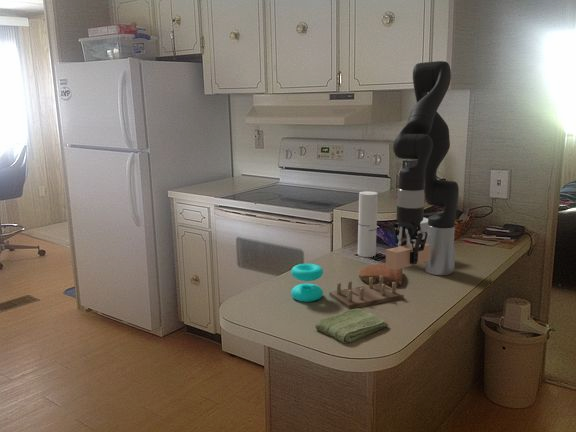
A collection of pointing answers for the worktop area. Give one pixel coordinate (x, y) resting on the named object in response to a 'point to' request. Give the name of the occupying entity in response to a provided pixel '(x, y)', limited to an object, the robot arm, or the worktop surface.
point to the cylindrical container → (367, 223)
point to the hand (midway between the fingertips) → (407, 261)
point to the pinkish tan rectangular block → (405, 256)
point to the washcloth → (350, 325)
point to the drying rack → (366, 294)
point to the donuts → (307, 290)
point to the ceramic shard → (379, 270)
